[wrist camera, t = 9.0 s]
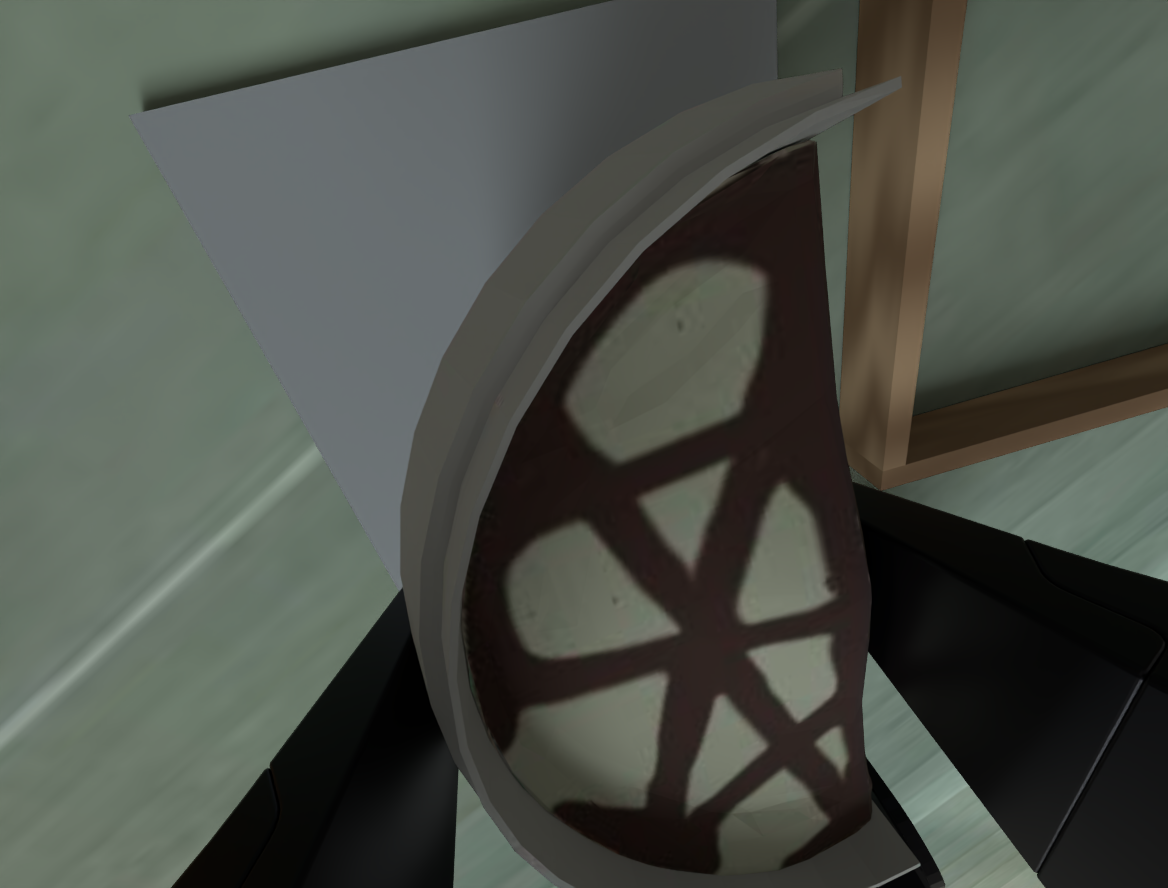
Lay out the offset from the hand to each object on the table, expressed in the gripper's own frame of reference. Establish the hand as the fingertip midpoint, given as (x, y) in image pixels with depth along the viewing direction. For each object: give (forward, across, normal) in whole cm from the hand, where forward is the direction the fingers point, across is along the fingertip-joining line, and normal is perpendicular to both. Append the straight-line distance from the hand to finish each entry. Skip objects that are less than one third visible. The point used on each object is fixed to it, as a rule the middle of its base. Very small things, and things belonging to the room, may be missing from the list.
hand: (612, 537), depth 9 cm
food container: (+6, +1, +1) cm, 7 cm away
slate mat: (+11, 0, 0) cm, 11 cm away
